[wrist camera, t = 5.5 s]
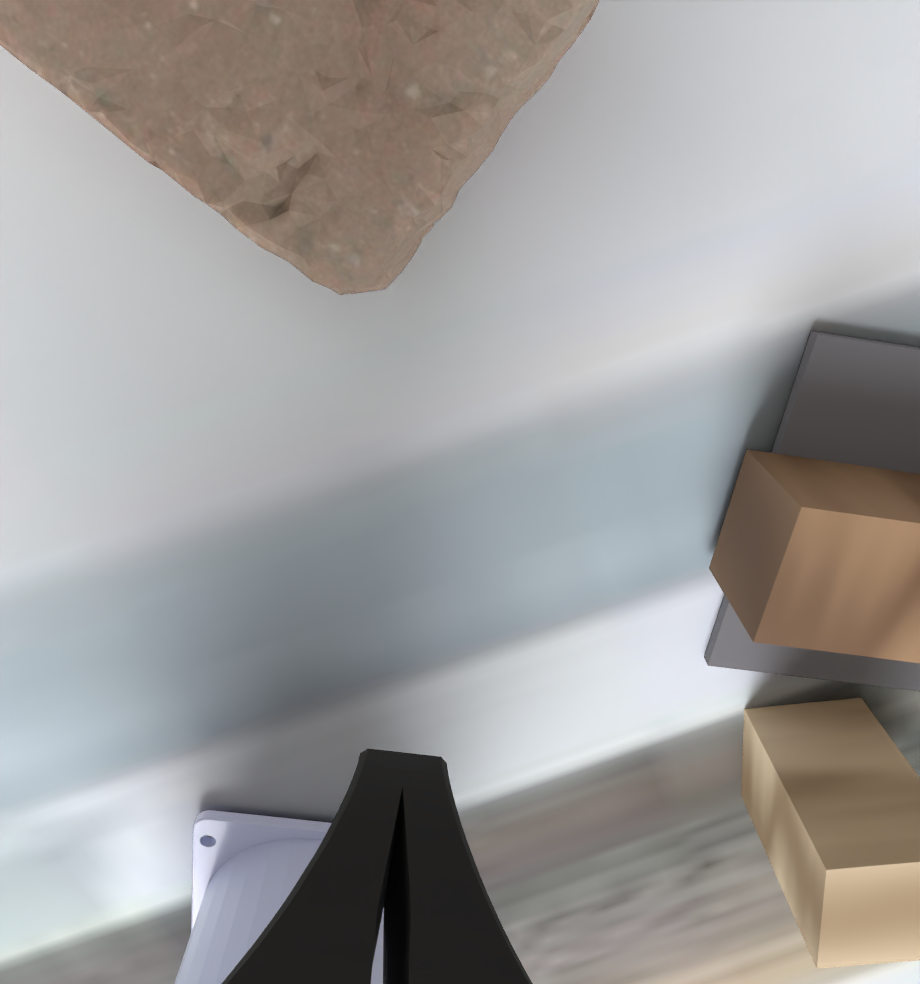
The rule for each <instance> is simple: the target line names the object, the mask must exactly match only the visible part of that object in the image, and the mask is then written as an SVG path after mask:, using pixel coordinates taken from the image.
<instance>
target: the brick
mask: <svg viewBox="0 0 920 984" xmlns="http://www.w3.org/2000/svg"><path fill="white" fill-rule="evenodd" d="M598 2H599V0H0V45H1V46H2V47H4V48H5V49H6V50H7V51H9V52H10V53H11V54H12V55H13V56H15V57H16V58H17V59H18V60H20V61H21V62H22V63H23V64H25V65H26V66H27V67H28V68H30V69H31V70H32V71H34V72H35V73H37V74H38V75H39V76H41V77H42V78H43V79H45V80H46V81H48V82H49V83H50V84H52V85H53V86H54V87H56V88H57V89H58V90H60V91H61V92H62V93H64V94H65V95H66V96H67V97H69V98H70V99H71V100H72V101H74V102H75V103H76V104H77V105H79V106H80V107H81V108H82V109H83V110H85V111H86V112H87V113H88V114H90V115H91V116H92V117H93V118H95V119H96V120H97V121H98V122H99V123H101V124H102V125H103V126H104V127H106V128H107V129H108V130H109V131H110V132H112V133H113V134H114V135H115V136H117V137H118V138H119V139H120V140H122V141H123V142H124V143H125V144H126V145H128V146H129V147H130V148H131V149H133V150H134V151H135V152H136V153H138V154H139V155H140V156H141V157H143V158H144V159H145V160H146V161H147V162H149V163H151V164H152V165H154V166H156V167H158V168H160V169H161V170H163V171H164V172H165V173H166V174H168V175H169V176H170V177H171V178H173V179H174V180H175V181H176V182H177V183H179V184H180V185H181V186H182V187H184V188H185V189H186V190H187V191H189V192H190V193H191V194H192V195H193V196H195V197H196V198H198V199H200V200H201V201H203V202H205V203H206V204H207V205H209V206H210V207H212V208H213V209H214V210H216V211H217V212H219V213H220V214H221V215H222V216H223V217H224V218H225V219H227V220H228V221H229V222H230V223H231V224H232V225H233V226H234V227H235V228H236V229H237V230H239V231H240V232H241V233H243V234H244V235H245V236H247V237H248V238H249V239H251V240H252V241H253V242H255V243H256V244H257V245H259V246H260V247H262V248H264V249H265V250H267V251H269V252H271V253H273V254H275V255H277V256H279V257H281V258H283V259H285V260H287V261H288V262H290V263H291V264H292V265H293V266H295V267H296V268H297V269H298V270H299V271H301V272H302V273H303V274H304V275H306V276H307V277H308V278H309V279H311V280H312V281H313V282H316V283H318V284H320V285H323V286H325V287H328V288H330V289H331V290H333V291H335V292H336V293H338V294H340V295H343V294H347V293H351V294H354V293H361V292H368V291H375V290H382V289H386V288H387V287H388V286H389V285H390V284H391V283H392V282H393V281H394V280H395V278H396V277H397V276H398V275H399V274H400V273H401V271H402V270H403V269H404V267H405V266H406V265H407V263H408V262H409V261H410V259H411V258H412V257H413V255H414V253H415V252H416V250H417V248H418V246H419V245H420V243H421V241H422V239H423V238H424V237H425V235H426V234H427V233H428V232H429V231H430V229H431V228H432V227H433V225H434V222H436V221H437V220H439V219H440V218H441V217H442V216H443V215H444V214H445V213H446V212H447V211H448V210H449V209H450V208H451V207H452V205H453V203H454V201H455V198H456V196H457V193H458V191H459V190H460V188H461V187H462V186H463V184H464V183H465V182H466V181H467V180H468V179H469V178H470V177H471V176H472V175H473V174H474V173H475V172H476V171H477V169H478V168H479V167H480V166H481V164H482V163H483V162H484V161H485V159H486V158H487V157H488V156H489V154H490V153H491V152H492V151H493V149H494V147H495V145H496V143H497V141H498V140H499V138H500V136H501V134H502V133H503V131H504V130H505V128H506V126H507V125H508V123H509V122H510V120H511V119H512V117H513V116H514V115H515V113H516V112H517V111H518V110H519V109H520V108H521V107H522V106H523V105H524V104H525V103H526V102H527V101H528V100H529V99H530V98H531V97H532V96H533V95H534V94H535V93H536V92H537V91H538V90H539V89H540V88H541V87H542V86H543V85H544V83H545V82H546V81H547V80H548V79H549V77H550V76H551V74H552V72H553V70H554V69H555V67H556V65H557V63H558V62H559V60H560V59H561V58H562V56H563V55H564V54H565V53H566V51H567V50H568V49H569V48H570V47H571V45H572V44H573V43H574V42H575V40H576V39H577V38H578V36H579V35H580V34H581V32H582V31H583V29H584V28H585V27H586V25H587V23H588V22H589V20H590V19H591V17H592V15H593V13H594V11H595V9H596V6H597V4H598Z"/></svg>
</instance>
